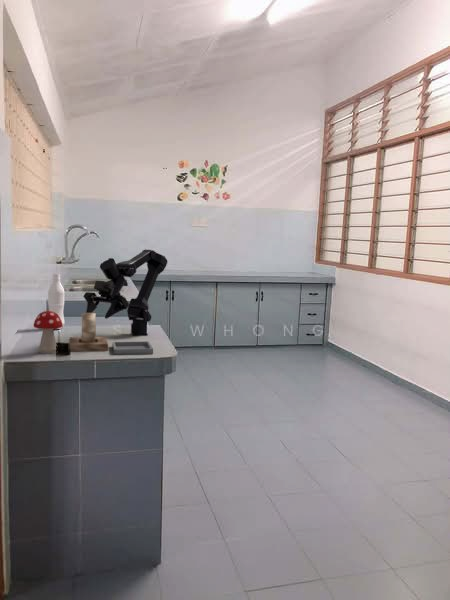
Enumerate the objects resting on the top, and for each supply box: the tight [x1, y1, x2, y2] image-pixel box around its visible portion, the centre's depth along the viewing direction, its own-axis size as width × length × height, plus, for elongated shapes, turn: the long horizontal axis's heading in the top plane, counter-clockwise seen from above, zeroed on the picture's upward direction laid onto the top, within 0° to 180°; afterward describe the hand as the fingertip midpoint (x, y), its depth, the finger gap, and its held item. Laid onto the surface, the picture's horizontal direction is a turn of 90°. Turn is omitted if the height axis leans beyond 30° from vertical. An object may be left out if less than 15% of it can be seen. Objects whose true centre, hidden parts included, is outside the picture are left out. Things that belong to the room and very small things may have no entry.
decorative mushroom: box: [33, 310, 63, 355], centre depth 179 cm, size 10×9×15 cm
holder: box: [68, 336, 109, 352], centre depth 191 cm, size 14×14×2 cm
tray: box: [111, 341, 154, 356], centre depth 189 cm, size 14×14×2 cm
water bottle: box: [47, 273, 66, 330], centre depth 225 cm, size 7×7×25 cm
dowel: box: [81, 312, 97, 342], centre depth 190 cm, size 5×5×13 cm
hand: (96, 316), depth 194 cm, fingers open, 9 cm apart
